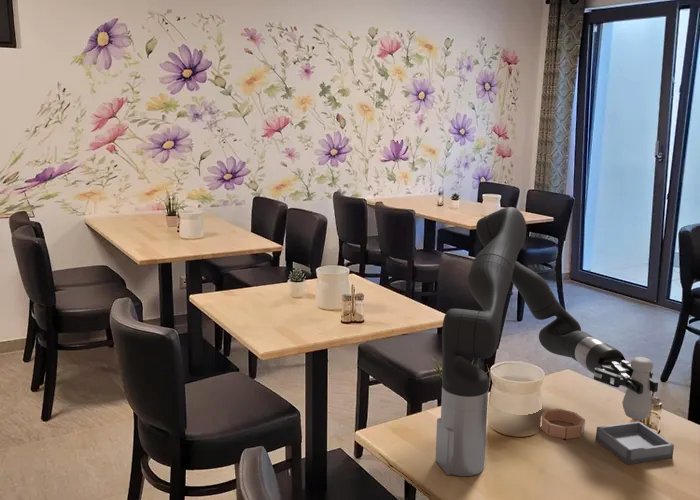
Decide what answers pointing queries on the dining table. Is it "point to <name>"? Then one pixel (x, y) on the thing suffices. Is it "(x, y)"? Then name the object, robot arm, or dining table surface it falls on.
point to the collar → (561, 430)
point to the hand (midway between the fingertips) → (648, 388)
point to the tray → (634, 442)
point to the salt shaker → (639, 403)
